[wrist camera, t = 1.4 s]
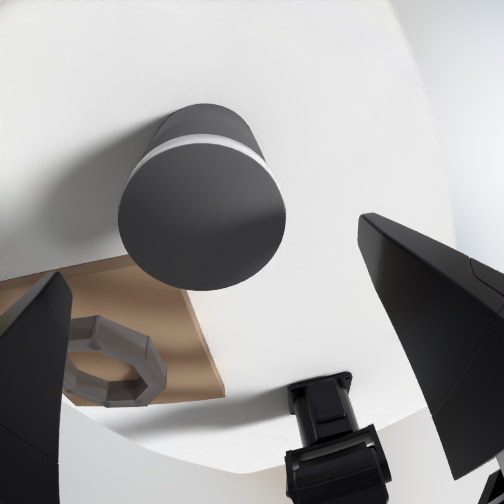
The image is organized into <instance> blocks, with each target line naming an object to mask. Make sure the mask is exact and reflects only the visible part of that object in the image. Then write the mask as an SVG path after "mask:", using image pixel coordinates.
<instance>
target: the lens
mask: <svg viewBox="0 0 504 504" xmlns="http://www.w3.org/2000/svg"><path fill="white" fill-rule="evenodd" d="M285 223H286V208H285V202H284V198H283V195H282V191H281V189H280V187H279V185H278V183H277V180H276V178H275V176H274V174H273V173H272V171H271V169H270V168H269V166H268V165H267V163H266V161H265V158H264V156H263V154H262V152H261V150H260V148H259V146H258V144H257V142H256V140H255V138H254V136H253V134H252V132H251V130H250V128H249V126H248V125H247V124H246V122H245V121H244V120H243V119H242V118H241V117H240V116H239V115H238V114H236V113H235V112H233V111H231V110H230V109H228V108H225V107H223V106H219V105H215V104H195V105H191V106H187V107H185V108H182V109H180V110H178V111H177V112H175V113H173V114H172V115H171V116H170V117H168V118H167V119H166V120H165V122H164V123H163V124H162V125H161V127H160V128H159V130H158V131H157V133H156V135H155V136H154V138H153V140H152V141H151V143H150V145H149V146H148V148H147V150H146V152H145V153H144V155H143V157H142V159H141V160H140V162H139V163H138V164H137V166H136V167H135V169H134V170H133V172H132V173H131V175H130V177H129V179H128V181H127V182H126V184H125V187H124V189H123V191H122V194H121V197H120V201H119V207H118V227H119V232H120V236H121V239H122V242H123V244H124V246H125V248H126V250H127V252H128V254H129V255H130V257H131V258H132V260H133V261H134V262H135V263H136V264H137V265H138V266H139V267H140V268H141V269H142V270H143V271H144V272H146V273H147V274H148V275H150V276H151V277H153V278H155V279H156V280H158V281H160V282H162V283H165V284H167V285H170V286H173V287H176V288H180V289H185V290H193V291H210V290H218V289H222V288H227V287H230V286H233V285H236V284H238V283H240V282H243V281H245V280H247V279H248V278H250V277H252V276H253V275H255V274H256V273H257V272H259V271H260V270H261V269H262V268H263V267H264V266H265V265H266V264H267V263H268V262H269V261H270V260H271V258H272V257H273V256H274V254H275V253H276V251H277V249H278V247H279V245H280V243H281V241H282V238H283V234H284V230H285Z"/></svg>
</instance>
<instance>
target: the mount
mask: <svg viewBox="0 0 504 504" xmlns="http://www.w3.org/2000/svg"><path fill="white" fill-rule="evenodd" d="M54 271H59V272H61V273H62V275H63V277H64V279H65V280H66V282H67V284H68V285H69V287H70V289H71V291H72V294H73V301H72V311H71V322H70V334H69V343H68V350H67V357H66V364H65V372H64V380H63V389H62V393H63V394H64V395H65V396H66V397H67V398H68V399H69V400H70V401H71V402H72V403H73V404H74V405H76V406H104V407H106V408H113V407H142V406H148V405H151V404H166V403H178V402H188V401H198V400H207V399H215V398H223V397H225V388H224V384H223V382H222V380H221V377H220V375H219V373H218V370H217V368H216V365H215V363H214V360H213V358H212V356H211V353H210V351H209V348H208V346H207V343H206V341H205V338H204V336H203V333H202V330H201V328H200V325H199V323H198V320H197V318H196V315H195V312H194V310H193V307H192V304H191V302H190V299H189V296H188V293H187V291H186V290H185V289H180V288H176V287H173V286H170V285H167V284H165V283H162V282H160V281H158V280H156V279H155V278H153V277H151V276H150V275H148V274H147V273H146V272H144V271H143V270H142V269H141V268H140V267H139V266H138V265H137V264H136V263H135V262H134V261H133V260H132V258H131V257H130V255H125V256H120V257H115V258H110V259H105V260H100V261H95V262H90V263H85V264H80V265H76V266H71V267H66V268H61V269H56V270H52V271H47V272H42V273H38V274H33V275H28V276H24V277H19V278H15V279H10V280H6V281H1V282H0V316H1V315H2V314H3V313H4V312H5V311H6V310H7V309H8V308H9V307H10V306H11V305H12V304H14V303H15V302H16V301H17V300H18V299H19V298H20V297H21V296H22V295H23V294H24V293H26V292H27V291H28V290H29V289H30V288H31V287H32V286H33V285H35V284H36V283H37V282H38V281H39V280H40V279H41V278H43V277H44V276H45V275H46V274H47V273H50V272H54Z"/></svg>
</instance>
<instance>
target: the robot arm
mask: <svg viewBox="0 0 504 504" xmlns="http://www.w3.org/2000/svg"><path fill="white" fill-rule="evenodd" d="M358 246H359V249H360V251H361V254H362V256H363V259H364V261H365V264H366V267H367V269H368V272H369V274H370V277H371V280H372V283H373V285H374V288H375V290H376V292H377V294H378V296H379V298H380V300H381V302H382V304H383V306H384V308H385V310H386V312H387V314H388V316H389V319H390V321H391V323H392V325H393V327H394V329H395V331H396V333H397V335H398V338H399V340H400V342H401V344H402V346H403V349H404V351H405V353H406V355H407V358H408V360H409V362H410V364H411V367H412V369H413V371H414V374H415V376H416V378H417V381H418V383H419V385H420V388H421V390H422V393H423V395H424V398H425V400H426V403H427V405H428V408H429V410H430V413H431V415H432V419H433V421H434V424H435V426H436V429H437V432H438V435H439V437H440V440H441V443H442V446H443V449H444V452H445V454H446V457H447V460H448V463H449V466H450V469H451V473H452V476H453V478H454V480H457V479H459V478H461V477H463V476H465V475H467V474H468V473H470V472H472V471H474V470H475V469H477V468H479V467H481V466H482V465H483V464H485V463H487V462H489V461H490V460H492V459H494V458H495V457H496V458H497V461H498V463H499V466H500V469H499V470H497V471H495V472H494V473H492V474H491V475H489V477H488V480H487V483H486V485H485V488H484V490H483V493H482V495H481V497H480V500H479V502H478V504H504V274H503V273H501V272H499V271H497V270H494V269H493V268H491V267H489V266H487V265H485V264H482V263H481V262H479V261H477V260H475V259H473V258H469V257H468V256H467V255H465V254H463V253H461V252H459V251H457V250H455V249H453V248H451V247H449V246H447V245H445V244H442V243H440V242H438V241H436V240H434V239H432V238H430V237H428V236H425V235H423V234H421V233H419V232H417V231H415V230H412V229H410V228H408V227H406V226H403V225H401V224H399V223H397V222H394V221H392V220H390V219H388V218H385V217H383V216H381V215H378V214H376V213H366V214H361V215H360V217H359V222H358ZM72 301H73V294H72V291H71V289H70V287H69V285H68V284H67V282H66V280H65V279H64V277H63V275H62V273H61V272H59V271H54V272H50V273H47V274H46V275H45V276H44V277H43V278H41V279H40V280H39V281H38V282H37V283H36V284H35V285H33V286H32V287H31V288H30V289H29V290H28V291H27V292H26V293H24V294H23V295H22V296H21V297H20V298H19V299H18V300H17V301H16V302H15V303H14V304H12V305H11V306H10V307H9V308H8V309H7V310H6V311H5V312H4V313H3V314H2V315H1V316H0V504H60V499H59V464H58V455H59V454H58V453H59V452H58V451H59V426H60V411H61V399H62V389H63V380H64V372H65V364H66V357H67V350H68V343H69V334H70V322H71V311H72ZM351 381H352V374H351V373H350V372H348V373H344V374H340V375H336V376H332V377H328V378H323V379H319V380H315V381H310V382H306V383H301V384H296V385H292V386H289V387H288V399H289V410H290V414H291V415H296V418H297V422H298V427H299V431H300V436H301V440H302V445H303V448H300V449H296V450H289V451H286V456H285V457H284V458H285V463H286V474H287V481H286V495H287V497H289V498H291V499H292V501H293V503H294V504H387V503H388V500H389V495H388V492H387V488H386V485H385V483H388V482H390V481H392V479H391V474H390V470H389V466H388V463H387V460H386V457H385V454H384V451H383V449H382V446H381V443H380V441H379V438H378V435H377V433H376V430H375V427H374V425H373V424H371V425H368V427H365V428H362V429H360V430H359V427H358V423H357V420H356V417H355V414H354V411H353V408H352V405H351V402H350V399H349V396H348V394H349V389H350V385H351ZM369 443H372V445H371V446H369V447H367V446H366V445H367V444H369Z"/></svg>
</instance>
